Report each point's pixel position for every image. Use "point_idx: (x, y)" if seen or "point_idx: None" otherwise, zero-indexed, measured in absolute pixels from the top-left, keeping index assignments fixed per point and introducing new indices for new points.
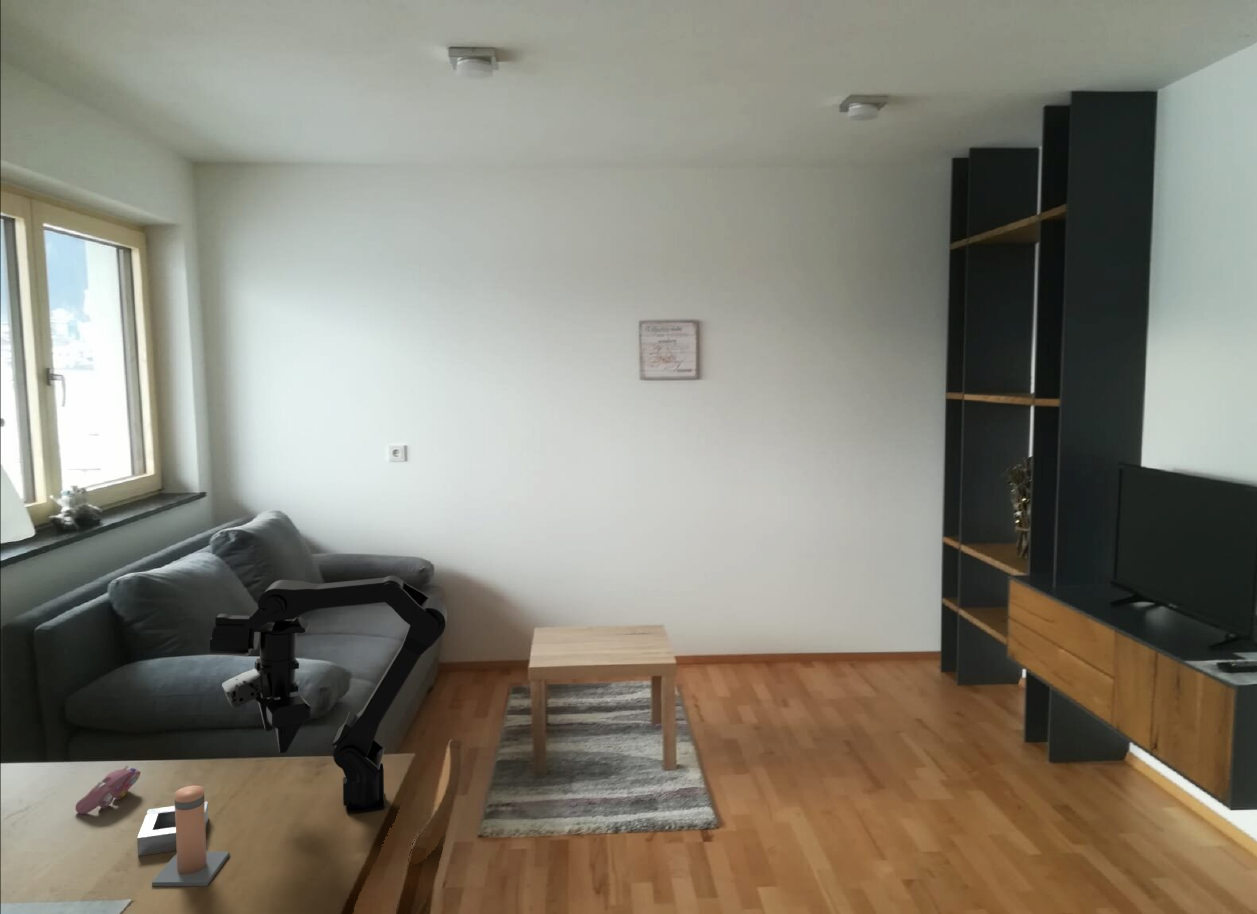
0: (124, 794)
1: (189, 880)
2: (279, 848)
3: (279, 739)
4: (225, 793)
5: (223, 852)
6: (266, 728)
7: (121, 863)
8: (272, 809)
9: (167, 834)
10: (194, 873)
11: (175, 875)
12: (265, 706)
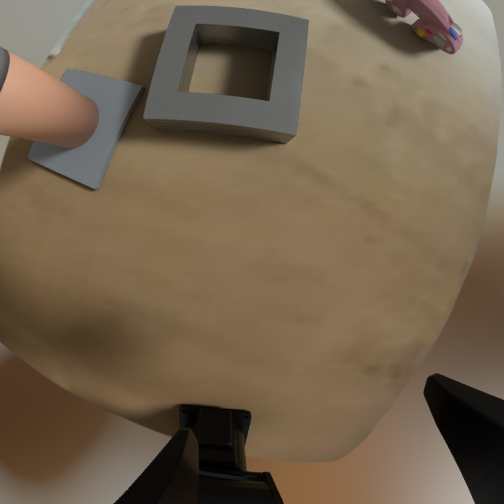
0: (419, 34)
1: None
2: (93, 285)
3: (131, 485)
4: (385, 191)
5: (96, 177)
6: (433, 385)
7: (171, 10)
8: (264, 286)
9: (160, 52)
10: None
11: None
12: (498, 447)
